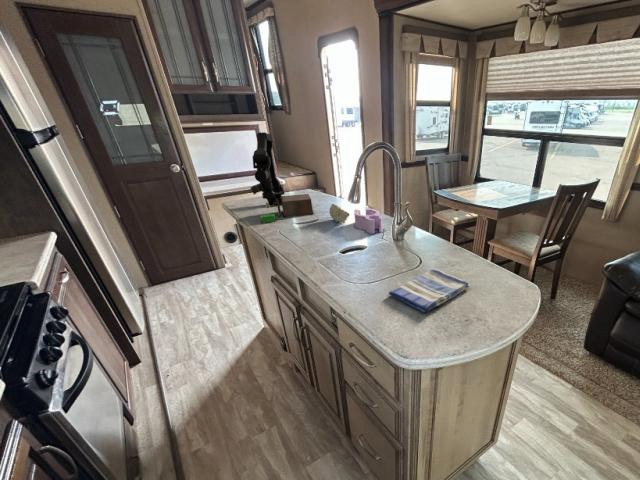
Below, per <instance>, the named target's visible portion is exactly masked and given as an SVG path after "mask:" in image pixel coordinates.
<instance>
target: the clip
mask: <svg viewBox="0 0 640 480" xmlns="http://www.w3.org/2000/svg"><path fill="white" fill-rule="evenodd" d="M354 224H355V228H356V229H358V230H362V231H363V230H364V231H365V232H366V233H368V234H371V235H375V234H376V230H378V232H379V233H383V231H384V225H383V224H384V223H383V216H382V215H380V212H379V211H378V209H373V208H369V207H366V208H365V214H361V210H360V209H354Z"/></svg>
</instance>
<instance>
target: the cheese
mask: <svg viewBox="0 0 640 480" xmlns="http://www.w3.org/2000/svg"><path fill="white" fill-rule="evenodd" d="M329 215H330V217H331V219H333V220H334V221H335V223H340V224H345V223H346V221H347V220H348V218H349V217H350V215H351V214H350V212H348V211H346V210H345V209H343V208H341V207H340V206H338V205H337V204H335V203H332V204H331V205H330V207H329Z"/></svg>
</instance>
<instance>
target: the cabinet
mask: <svg viewBox="0 0 640 480" xmlns="http://www.w3.org/2000/svg"><path fill="white" fill-rule="evenodd" d="M281 199H282V204H283V208H282V210H283V209H284V213H283V215H284V218H291V217H299V216H309V215H314V209H313V203H312V198H311V196H310V193H303V194H292V195H282V196H281Z"/></svg>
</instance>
